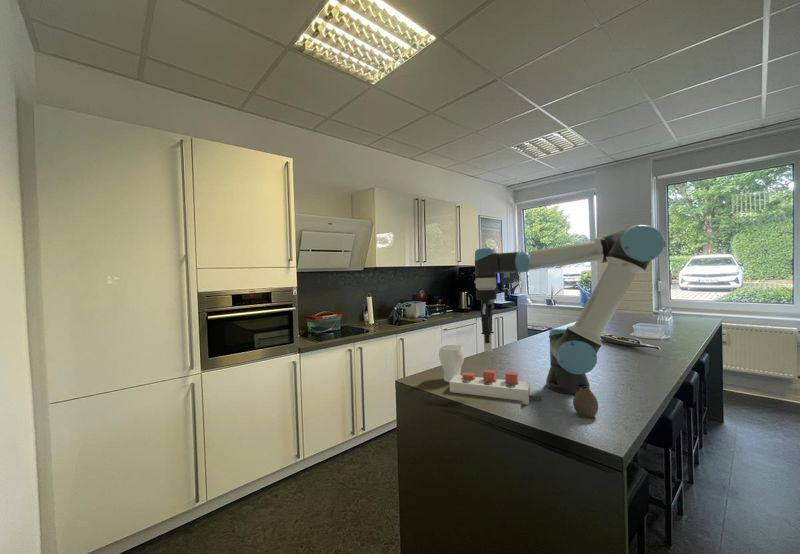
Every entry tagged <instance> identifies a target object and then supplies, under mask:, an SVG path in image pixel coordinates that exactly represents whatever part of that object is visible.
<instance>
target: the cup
mask: <svg viewBox="0 0 800 554" xmlns="http://www.w3.org/2000/svg"><path fill="white" fill-rule="evenodd" d="M438 351H439V356H438V357H439V361H440V364H441V366H442V368H443V373H444V374H443V380H444V382H446V383H447V382H448V383H449V382H450V381H451V380H452V378H453V377H454V376H455V375H461V372H462V371H461V369H462V367H463V364H464V361H465V352H464V351H465V350H464V348H463V346H462V345H456V344H446V345H441V346H440V347H439V350H438Z"/></svg>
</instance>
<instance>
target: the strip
mask: <svg viewBox="0 0 800 554" xmlns="http://www.w3.org/2000/svg"><path fill="white" fill-rule="evenodd" d="M448 383H449V393H457V394H462V395H463V394H464V395H472V396H473V395H474V396H480V397H481V396H482V397H489V398H497V399H505V400H506V399H507V400H513V401H521V404H522V405H530V400H539V401H542V396H540V395H535V394H534V395H533V394H531V389H530V388H531V387H530V385H531V384H530V382H529V381H523V380H522V381H520V380H518V383H517V385H516V384H507V383H506V380H505V379H501V378H496V380H495V382H487V381H484V377H479V376H475V379H474V380H465V379H463V375H461V374H460V375H455V376H454V377H453V378H452V380H451V381H450V382H448Z"/></svg>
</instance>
